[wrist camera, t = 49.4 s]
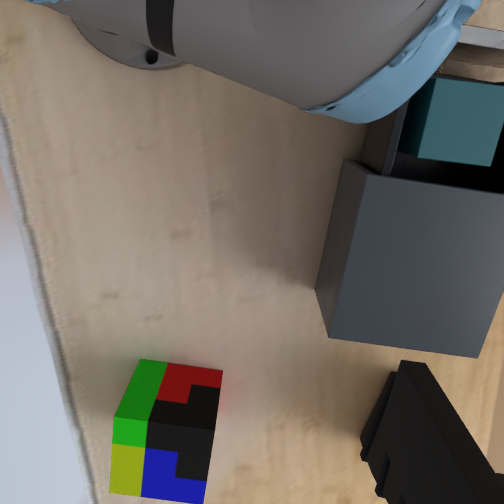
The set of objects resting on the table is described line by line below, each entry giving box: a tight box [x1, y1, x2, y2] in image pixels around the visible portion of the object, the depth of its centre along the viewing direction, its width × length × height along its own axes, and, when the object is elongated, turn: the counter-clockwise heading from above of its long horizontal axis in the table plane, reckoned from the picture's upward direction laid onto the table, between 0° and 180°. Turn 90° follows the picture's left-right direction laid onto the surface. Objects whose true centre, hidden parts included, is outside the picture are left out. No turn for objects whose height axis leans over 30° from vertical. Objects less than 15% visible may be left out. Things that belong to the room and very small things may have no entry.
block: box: [397, 78, 504, 167], centre depth 36 cm, size 6×6×7 cm
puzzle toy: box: [109, 359, 223, 504], centre depth 48 cm, size 10×10×10 cm
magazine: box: [360, 372, 406, 504], centre depth 48 cm, size 4×13×15 cm, turn 164°
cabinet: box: [315, 158, 504, 358], centre depth 41 cm, size 15×14×10 cm
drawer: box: [359, 24, 504, 194], centre depth 36 cm, size 20×13×8 cm, turn 172°
